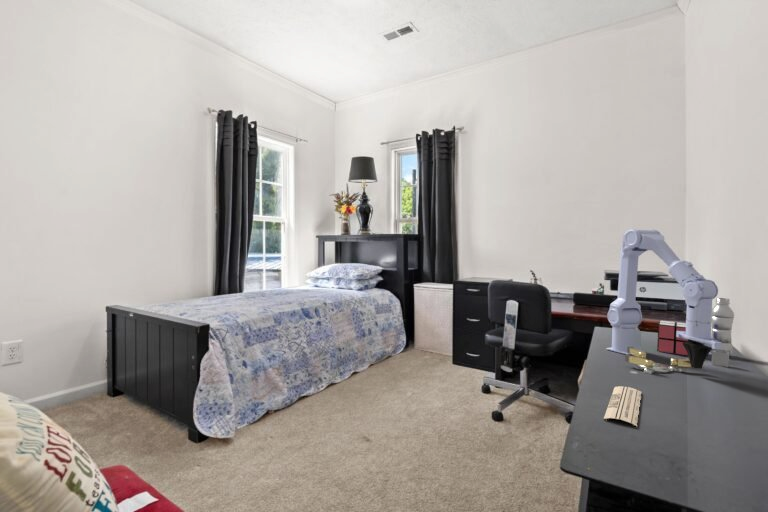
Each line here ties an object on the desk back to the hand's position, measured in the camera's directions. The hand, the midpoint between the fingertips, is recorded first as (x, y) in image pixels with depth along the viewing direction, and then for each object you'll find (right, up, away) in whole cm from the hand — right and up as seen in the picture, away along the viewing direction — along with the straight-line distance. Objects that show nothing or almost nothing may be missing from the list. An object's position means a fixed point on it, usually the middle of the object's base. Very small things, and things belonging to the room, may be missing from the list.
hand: (696, 367), depth 114 cm
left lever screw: (0, -1, +4) cm, 4 cm away
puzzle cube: (+14, -2, +27) cm, 31 cm away
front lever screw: (-14, 0, +5) cm, 14 cm away
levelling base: (-8, -2, +6) cm, 11 cm away
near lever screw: (-8, 0, +14) cm, 16 cm away
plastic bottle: (+27, -3, +23) cm, 35 cm away
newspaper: (-36, -3, -23) cm, 42 cm away
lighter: (+16, -3, +12) cm, 20 cm away
